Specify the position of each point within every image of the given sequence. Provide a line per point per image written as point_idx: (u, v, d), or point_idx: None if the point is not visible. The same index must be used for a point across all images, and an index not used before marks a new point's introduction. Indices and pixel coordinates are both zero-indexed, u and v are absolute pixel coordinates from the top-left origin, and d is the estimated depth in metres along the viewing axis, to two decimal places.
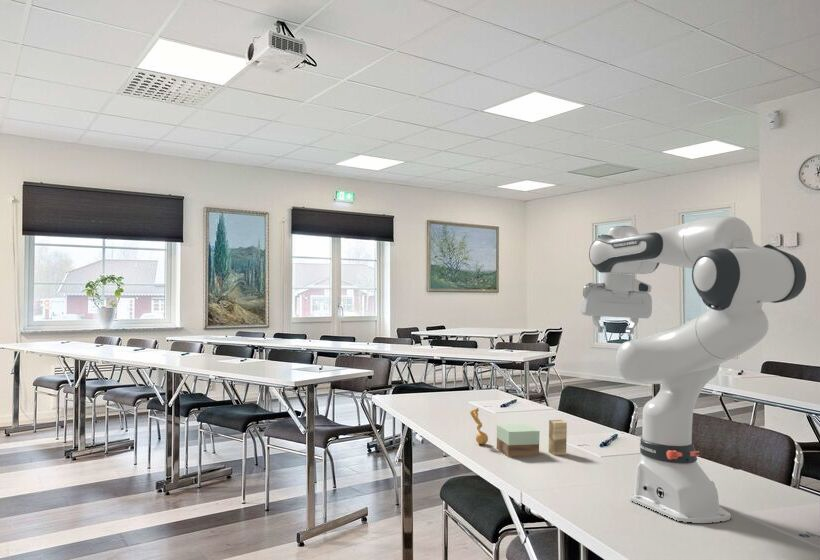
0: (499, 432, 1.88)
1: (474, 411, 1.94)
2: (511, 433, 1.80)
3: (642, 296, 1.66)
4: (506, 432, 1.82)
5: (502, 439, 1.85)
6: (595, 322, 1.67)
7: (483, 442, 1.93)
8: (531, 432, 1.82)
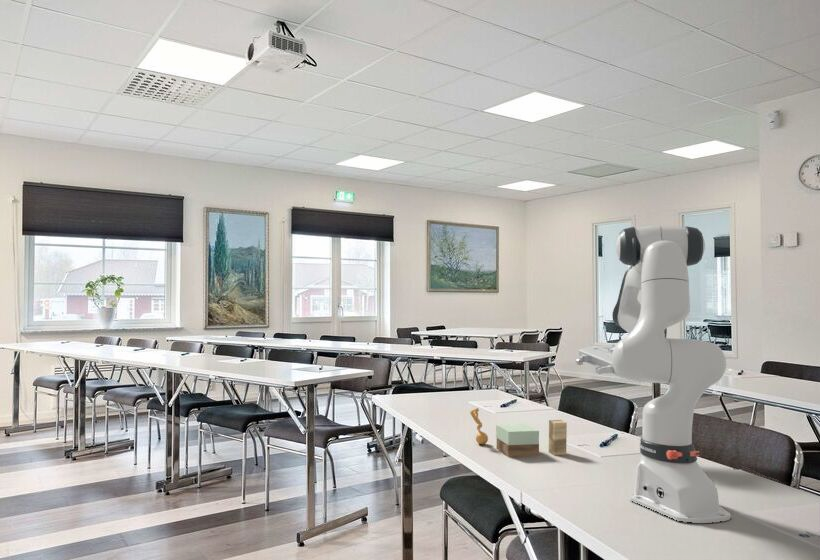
0: (499, 431, 1.88)
1: (474, 411, 1.94)
2: (511, 433, 1.80)
3: None
4: (506, 432, 1.82)
5: (501, 439, 1.85)
6: None
7: (483, 442, 1.93)
8: (531, 432, 1.82)
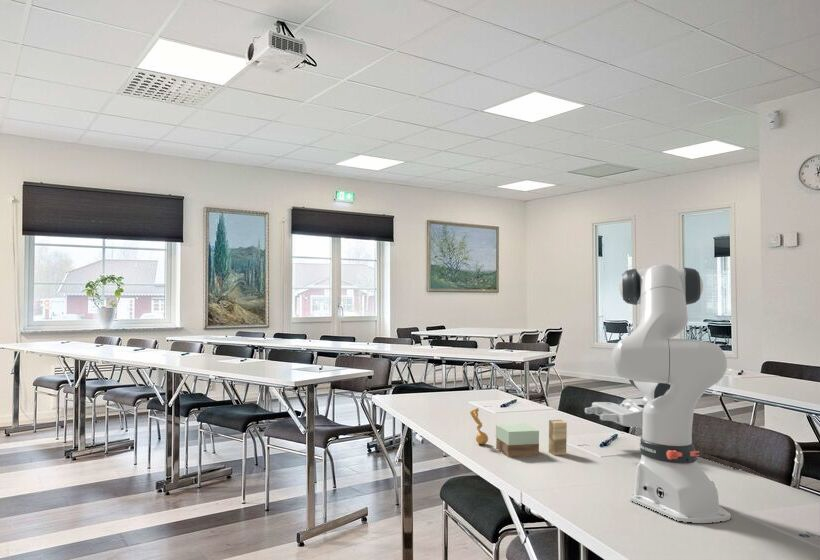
0: (498, 431, 1.88)
1: (474, 411, 1.94)
2: (511, 433, 1.80)
3: (635, 409, 1.85)
4: (506, 432, 1.82)
5: (502, 439, 1.85)
6: None
7: (483, 442, 1.93)
8: (531, 432, 1.82)
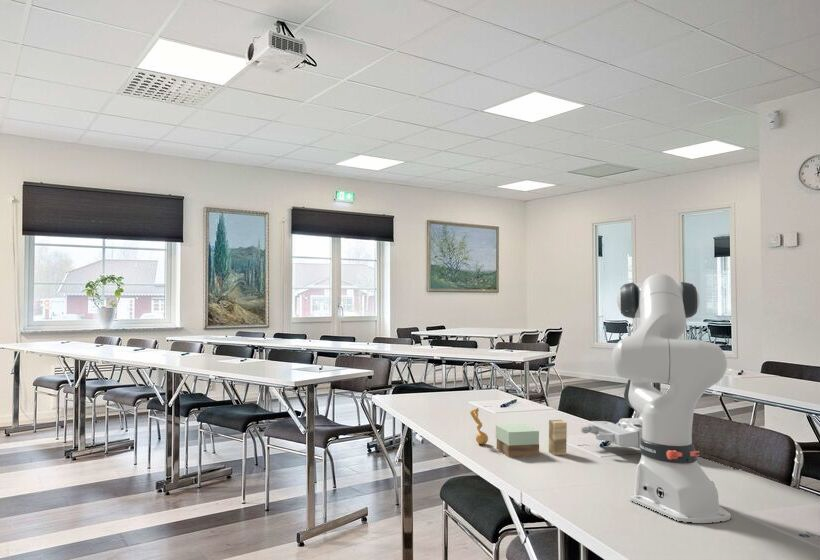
0: (498, 432, 1.87)
1: (474, 411, 1.94)
2: (511, 433, 1.80)
3: (631, 429, 1.84)
4: (506, 432, 1.82)
5: (502, 439, 1.85)
6: None
7: (483, 442, 1.93)
8: (531, 432, 1.82)
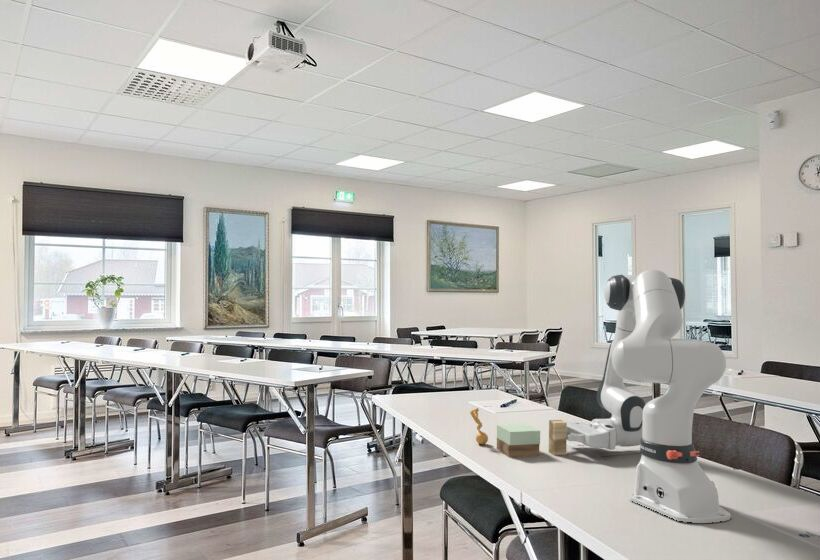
0: (499, 432, 1.88)
1: (474, 411, 1.94)
2: (512, 433, 1.81)
3: (602, 429, 1.82)
4: (507, 432, 1.82)
5: (503, 439, 1.85)
6: None
7: (483, 442, 1.93)
8: (532, 432, 1.82)
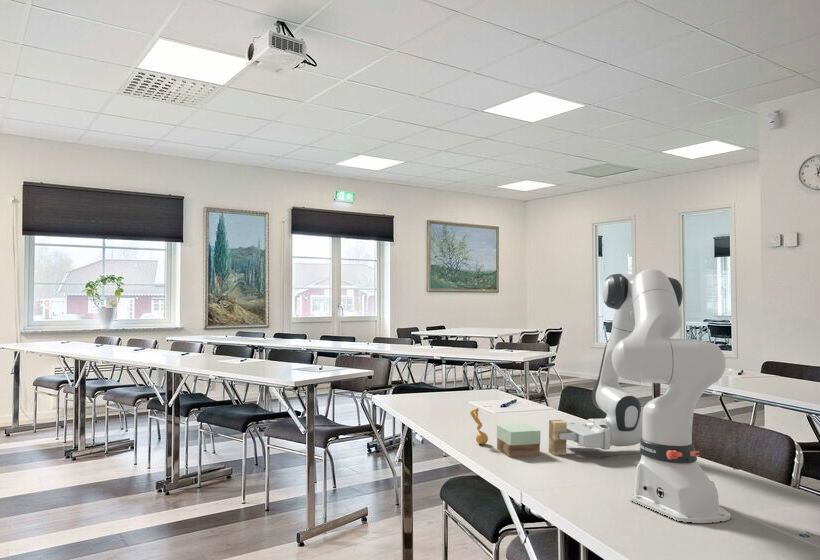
0: (500, 432, 1.87)
1: (474, 411, 1.94)
2: (513, 433, 1.80)
3: (597, 429, 1.82)
4: (507, 432, 1.82)
5: (503, 439, 1.85)
6: None
7: (483, 442, 1.93)
8: (532, 432, 1.82)
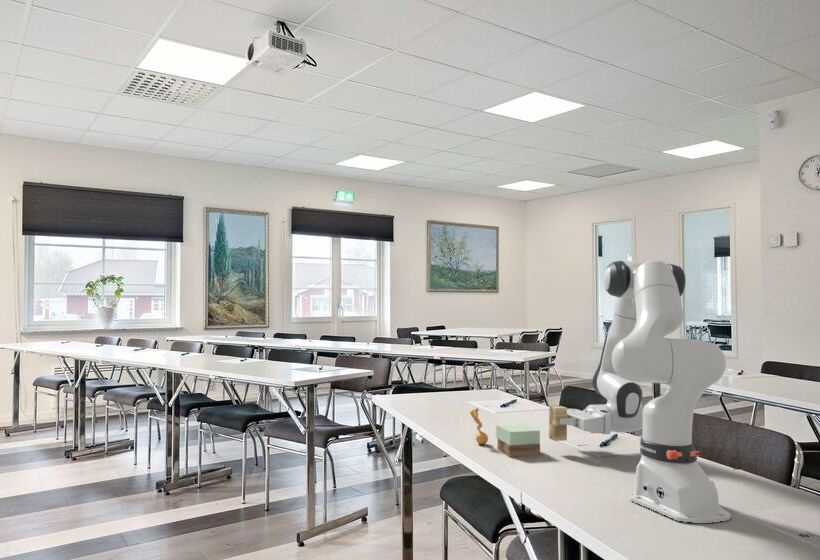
0: (499, 432, 1.87)
1: (474, 411, 1.94)
2: (512, 433, 1.80)
3: (597, 414, 1.82)
4: (507, 432, 1.82)
5: (502, 439, 1.85)
6: None
7: (483, 442, 1.93)
8: (532, 432, 1.82)
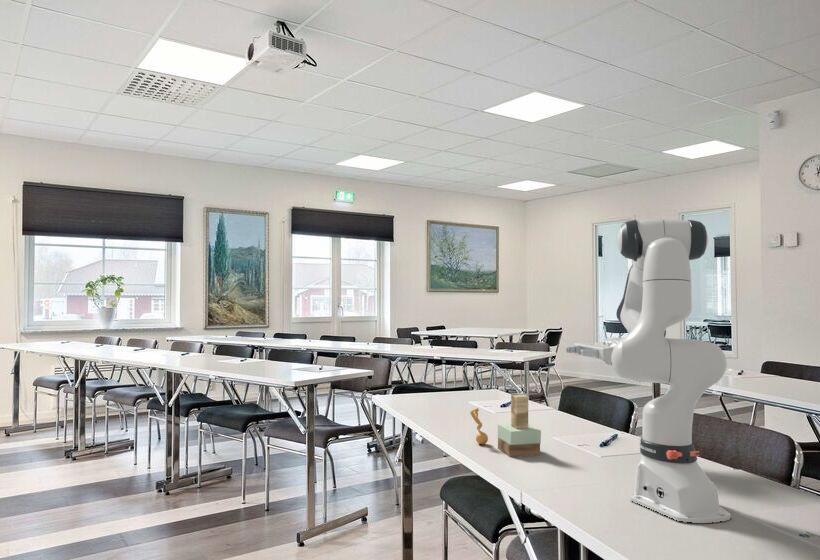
0: (500, 431, 1.88)
1: (474, 411, 1.94)
2: (513, 433, 1.81)
3: None
4: (508, 432, 1.83)
5: (503, 439, 1.86)
6: None
7: (483, 442, 1.93)
8: (533, 431, 1.83)
